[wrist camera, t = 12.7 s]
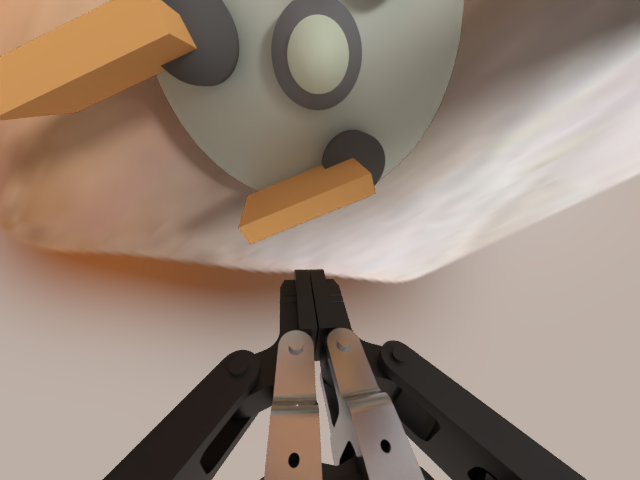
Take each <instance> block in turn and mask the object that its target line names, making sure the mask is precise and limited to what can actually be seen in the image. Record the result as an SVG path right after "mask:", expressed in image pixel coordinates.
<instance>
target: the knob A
mask: <svg viewBox="0 0 640 480" xmlns="http://www.w3.org/2000/svg"><path fill="white" fill-rule="evenodd" d="M238 57H239V39H238V33H237V29H236V26H235V23H234V21H233V18H232V16H231V14H230V12H229V11H228V9H227V7H226V6H225V4H224V2H223V1H222V0H111V1H109V2H107V3H105V4H103V5H101V6H99V7H97V8H95V9H94V10H92V11H90V12H88V13H86V14H84V15H82V16H80V17H78V18H76V19H74V20H72V21H70V22H68V23H66V24H64V25H62V26H60V27H58V28H56V29H54V30H52V31H50V32H48V33H46V34H44V35H42V36H40V37H38V38H36V39H34V40H32V41H30V42H28V43H26V44H24V45H22V46H20V47H18V48H16V49H14V50H12V51H10V52H8V53H6V54H4V55H2V56H0V120H7V119H17V118H27V117H36V116H46V115H56V114H65V113H75V112H78V111H81V110H83V109H85V108H87V107H89V106H91V105H93V104H95V103H98V102H100V101H102V100H104V99H106V98H108V97H110V96H112V95H114V94H117V93H119V92H121V91H123V90H125V89H127V88H129V87H131V86H134V85H136V84H138V83H140V82H142V81H144V80H146V79H148V78H151V77H153V76H155V75H157V74H159V73H161V72H163V71H165V70H166V71H167V72H168V73H169V74H171V75H172V76H174V77H175V78H177V79H178V80H180V81H182V82H185V83H187V84H191V85H196V86H215V85H218V84H221V83H222V82H224V81H226V80H227V79H228V78H229V77H230V76H231V75H232V73H233V71H234V70H235V67H236V65H237V62H238Z"/></svg>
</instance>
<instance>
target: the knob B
mask: <svg viewBox="0 0 640 480" xmlns="http://www.w3.org/2000/svg"><path fill="white" fill-rule="evenodd" d="M384 167H385V153H384V150H383V147H382V146H381V144H380V143H379V141H378V140H377V139H376V138H374V137H373V136H371V135H369V134H367V133H365V132H362V131H359V130H348V131H344V132H342V133H340V134H338V135H336V136H335V137H334V138H333V139H332V140H331V141H330V142H329V143H328V145H327V146H326V148H325V151H324V153H323V157H322V165H319V166H317V167H314V168H312V169H310V170H307V171H305V172H303V173H300V174H298V175H295V176H293V177H291V178H288V179H286V180H284V181H281V182H279V183H276V184H274V185H272V186H269V187H267V188H264V189H262V190H260V191H257V192H255V193H253V194H250V195H248V196H247V199H246V202H245V206H244V209H243V213H242V217H241V220H240V224H239V227H238V228H239V229H240V231H241V232H242V234H243V235H244V237H245V238H246V239H247V241H248V242H249V244H252V243H255V242H257V241H260V240H262V239H265V238H267V237H270V236H272V235H275V234H277V233H279V232H282V231H284V230H287V229H289V228H292V227H294V226H297V225H299V224H302V223H304V222H307V221H309V220H312V219H314V218H317V217H319V216H321V215H324V214H326V213H329V212H331V211H334V210H336V209H339V208H341V207H344V206H346V205H349V204H351V203H354V202H356V201H359V200H361V199H363V198H366V197H368V196H371V195H373V194H376V192H375V188H374V186H375V185H376V183H377V182H378V181H379V179H380V178H381V176H382V174H383V171H384Z"/></svg>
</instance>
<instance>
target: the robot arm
mask: <svg viewBox="0 0 640 480" xmlns="http://www.w3.org/2000/svg"><path fill="white" fill-rule="evenodd" d="M314 361H320V366H321V373H320V381H321V386H322V391H323V396H324V401H325V406H326V410H327V416H328V420H329V425H330V433H331V448H332V455H333V460H334V465H329V464H324V463H322V462H321V443H320V426H319V425H320V423H319V408H318V403H317V401H316V388H315V365H314ZM270 406H272V407H271V416H270V425H269V435H268V445H267V455H266V465H265V476H264V477H263V478H261V479H260V480H434V479H433V478H432V477H431V476H430V475H429V474H428V473H427V472H426V471H425V470H424V469H423V468H422V467H420V466H419V465H418V462H417V460H416V458H415V455H414V453H413V450H412V448H411V445H410V443H409V441H408V438H407V436H408V437H409V438H410V439H411V440H412V441H413V442H414V443H415V444H416V445H417V446H418V447H419V448H420V449H421V450H422V451H423V452H425V454H427V455H428V456H429V457H430V458H431V459H432V460H433V461H434V462H435V463H436V464H437V465H438V466H439V467H440V468H441V469H442V470H443V471H444V472H445V473H446V474H447V475H448V476H449V477H450V478H451V479H452V480H586V479H585V478H584V477H582V476H581V475H580V474H578V473H577V472H576V471H574V470H573V469H571V468H570V467H569V466H568V465H566V464H565V463H564V462H562V461H561V460H560V459H558V458H557V457H556V456H554V455H553V454H552V453H550V452H549V451H547V450H546V449H545V448H543V447H542V446H541V445H539V444H538V443H537V442H535V441H534V440H533V439H531V438H530V437H529V436H527V435H526V434H525V433H523V432H522V431H521V430H519V429H518V428H517V427H515V426H514V425H513V424H511V423H510V422H509V421H507V420H506V419H505V418H503V417H502V416H501V415H499V414H498V413H496V412H495V411H494V410H492V409H491V408H490V407H488V406H487V405H486V404H484V403H483V402H482V401H480V400H479V399H478V398H476V397H475V396H474V395H472V394H471V393H470V392H468V391H467V390H465V389H464V388H463V387H462V386H460V385H459V384H458V383H456V382H455V381H453V380H452V379H451V378H449V377H448V376H447V375H445V374H444V373H443V372H441V371H440V370H439V369H437V368H436V367H435V366H433V365H432V364H431V363H429V362H428V361H427V360H425V359H424V358H423V357H421V356H419V354H417V353H416V352H415V351H413V350H412V349H411V348H409V347H408V346H406V345H405V344H403V343H401V342H399V341H388V342H386V343H385V344H384V345H383V346H379V345H375V344H371V343H368V342H365V341H363V340H361V339H360V338H358V336H357V335H356V334H355V333H354V332H353V330H352V329H351V326H350V322H349V319H348V315H347V312H346V308H345V305H344V302H343V298H342V296H341V291H340V288H339V285H338V284H337V283H336V282H335V281H334V280H333V279H325V274H324V270H323V269H318V270H295V271H294V280H284V282H283V284H282V285H281V287H280V335H279V337H278V339H277V341H276V342H275V344H274V345H273V346H271V347H270V348H268V349H266V350H264V351H262V352H259V353H256V354H254V353H252V352H250V351H247V350H239V351H235V352H233V353H231V354H229V355H228V356H227V357H225V358H224V359H223V360H222V361H221V362H220V363H219V364H218V365H217V366H216V367H215V368H214V369H213V370H212V371H211V372H210V373H209V374H208V375H207V376H206V377H205V378H204V379H203V380H202V381H201V382H200V383H199V384H198V385H197V386H196V387H195V388H194V389H193V390H192V391H191V392H190V393H189V394H188V395H187V396H186V397H185V398H184V399H183V400H182V401H181V402H180V403H179V404H178V405H177V406H176V407H175V408H174V409H173V410H172V411H171V412H170V413H169V414H168V415H167V416H166V417H165V418H164V419H163V420H162V421H161V422H160V423H159V424H158V425H157V426H156V427H155V428H154V429H153V430H152V431H151V432H150V433H149V434H148V435H147V436H146V437H145V438H144V439H143V440H142V441H141V442H140V443H139V444H138V445H137V446H136V447H135V448H134V449H133V450H132V451H131V452H130V453H129V454H128V455H127V456H126V457H125V458H124V459H123V460H122V461H121V462H120V463H119V464H118V465H117V466H116V467H115V468H114V469H113V470H112V471H111V472H110V473H109V474H108V475H107V476H106V477H105V478H104V479H103V480H212V478H213V477H214V476H215V474H216V473H217V471H218V470H219V468H220V467H221V466H222V464H223V463H224V461H225V460H226V458H227V457H228V455H229V454H230V452H231V451H232V450H233V449H234V447H235V446H236V444H237V443H238V441H239V440H240V439H241V437H242V436H243V434H244V433H245V431H246V430H247V428H248V427H249V426H250V424H251V423H252V421H253V420H254V419H255V417H256V416H257V414H258V413H259V412H260V411H262V410H264V409H266V408H268V407H270ZM406 435H407V436H406Z"/></svg>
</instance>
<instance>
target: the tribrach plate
mask: <svg viewBox="0 0 640 480" xmlns="http://www.w3.org/2000/svg"><path fill="white" fill-rule="evenodd" d="M222 1H223V2H224V4H225V6H226V7H227V9H228V11H229V12H230V14H231V16H232V18H233V21H234V23H235V26H236V29H237V33H238V39H239V57H238V62H237V65H236V67H235V70H234V71H233V73H232V75H231V76H230V77H229V78H228V79H227V80H226V81H224V82H222V83H221V84H218V85H215V86H196V85H191V84H187V83H185V82H182V81H180V80H178V79H177V78H175V77H174V76H172V75H171V74H169V73H168V72H167V71H166V70H165V71H163V72H161V73H159V74H157V75H156V76H157V79H158V81H159V84H160V86H161V88H162V90H163V92H164V94H165V96H166V98H167V100H168V102H169V104H170V106H171V108H172V110H173V111H174V113H175V114H176V116H177V118H178V119H179V121H180V122H181V124H182V125H183V127H184V129H185V130H186V131H187V132H188V134H189V135H190V136H191V138H192V139H193V140H194V141H195V143H196V144H197V145H198V146H199V147H200V148H201V150H202V151H203V152H204V153H205V154H206V155H207V156H208V157H209V158H210V159H211V160H212V161H213V162H214V163H216V164H217V165H218V166H219V167H220V168H222V169H223V170H224V171H225V172H226V173H228V174H229V175H231V176H232V177H234V178H235V179H237V180H238V181H240V182H241V183H243V184H245V185H247V186H248V187H250V188H252V189H254V190H256V191H260V190H262V189H264V188H267V187H269V186H272V185H274V184H276V183H279V182H281V181H284V180H286V179H288V178H291V177H293V176H295V175H298V174H300V173H303V172H305V171H307V170H310V169H312V168H314V167H317V166H319V165H322V157H323V153H324V151H325V148H326V146H327V145H328V143H329V142H330V141H331V140H332V139H333V138H334V137H335V136H336V135H338V134H340V133H342V132H344V131H348V130H359V131H362V132H365V133H367V134H369V135H371V136H373V137H374V138H376V139H377V140H378V141H379V143H380V144H381V146H382V147H383V150H384V153H385V167H384V171H383V174H382V176H381V178H383V177H384V176H386V175H387V174H388V173H389V172H390V171H392V170H393V169H394V168H395V167H396V166H397V165H399V164H400V162H401V161H402V160H403V159H404V158H405V157H406V156H407V155H408V154H409V153H410V152H411V151H412V149H413V148H414V147H415V145H416V144H417V143H418V142H419V140H420V139H421V138H422V136H423V134H424V133H425V131H426V130H427V128H428V127H429V125H430V123H431V122H432V120H433V118H434V116H435V114H436V112H437V110H438V108H439V106H440V104H441V102H442V99H443V97H444V94H445V92H446V89H447V87H448V84H449V81H450V78H451V74H452V71H453V68H454V64H455V61H456V56H457V51H458V46H459V41H460V36H461V27H462V18H463V3H464V0H222ZM381 178H380V179H381ZM380 179H379V180H380Z"/></svg>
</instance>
